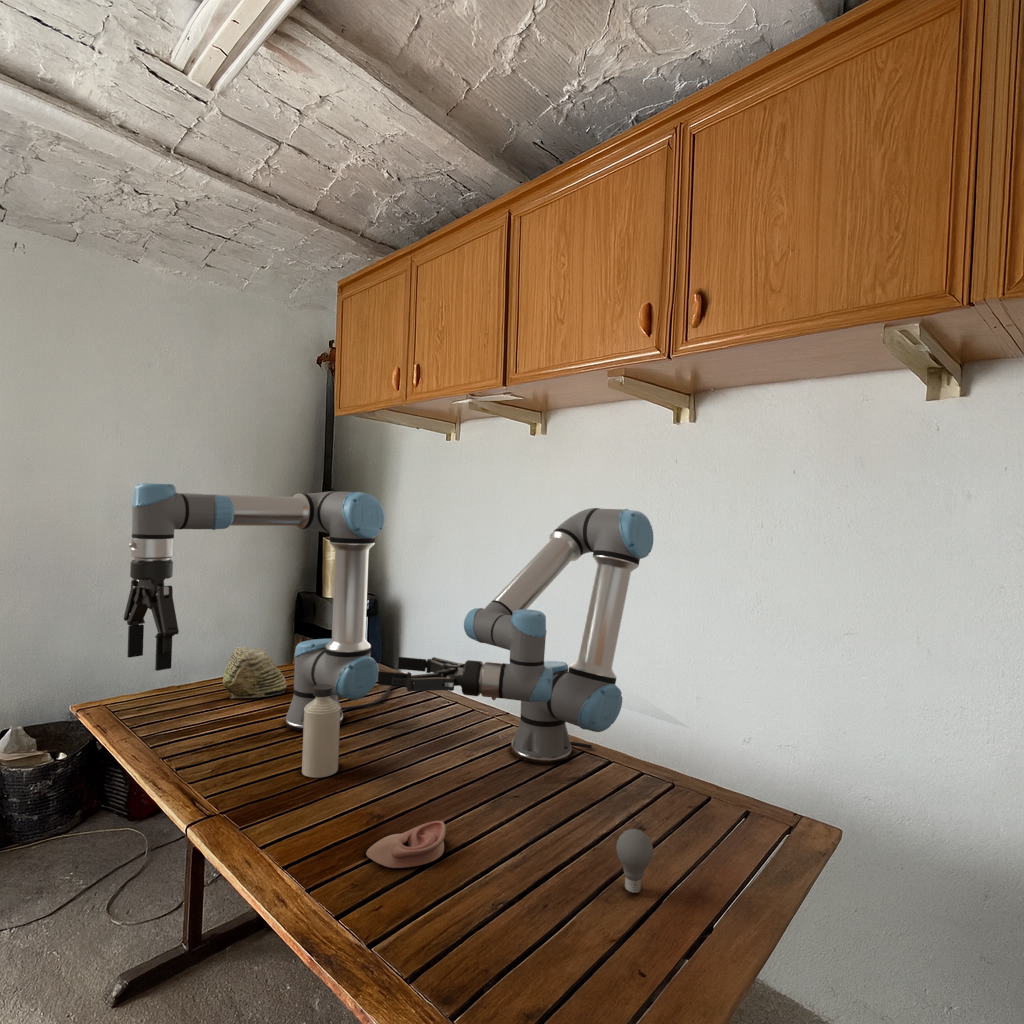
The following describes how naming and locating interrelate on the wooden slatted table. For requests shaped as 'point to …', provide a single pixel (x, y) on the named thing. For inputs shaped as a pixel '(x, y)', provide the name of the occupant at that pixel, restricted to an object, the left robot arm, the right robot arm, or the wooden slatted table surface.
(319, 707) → the bottle
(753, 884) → the wooden slatted table surface
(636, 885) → the light bulb
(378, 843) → the anatomical model
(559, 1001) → the wooden slatted table surface
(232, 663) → the fossil
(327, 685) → the cap
